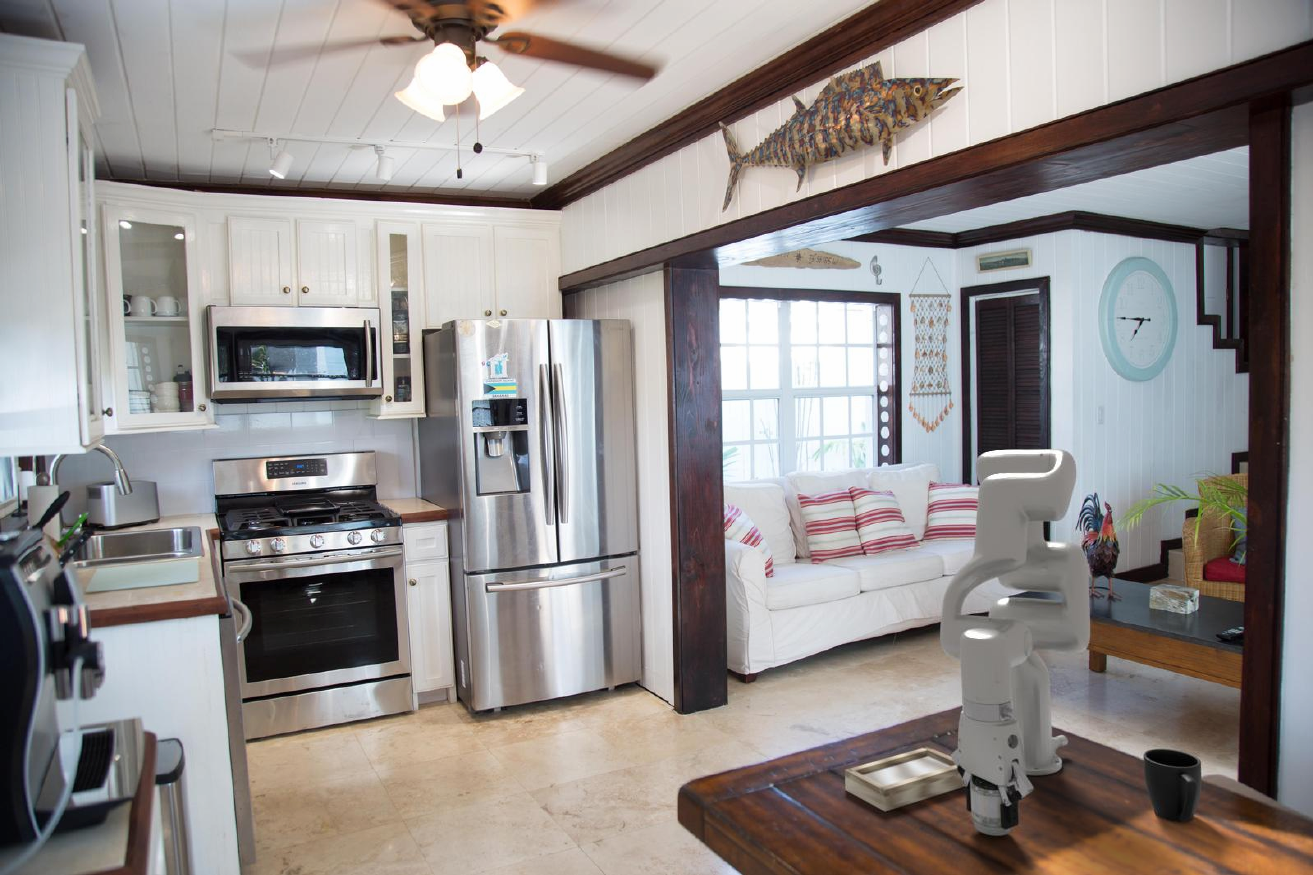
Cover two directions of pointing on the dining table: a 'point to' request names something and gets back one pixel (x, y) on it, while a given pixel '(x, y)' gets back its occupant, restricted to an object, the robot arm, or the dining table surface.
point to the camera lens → (986, 807)
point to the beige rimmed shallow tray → (903, 778)
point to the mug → (1173, 783)
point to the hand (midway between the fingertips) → (992, 816)
